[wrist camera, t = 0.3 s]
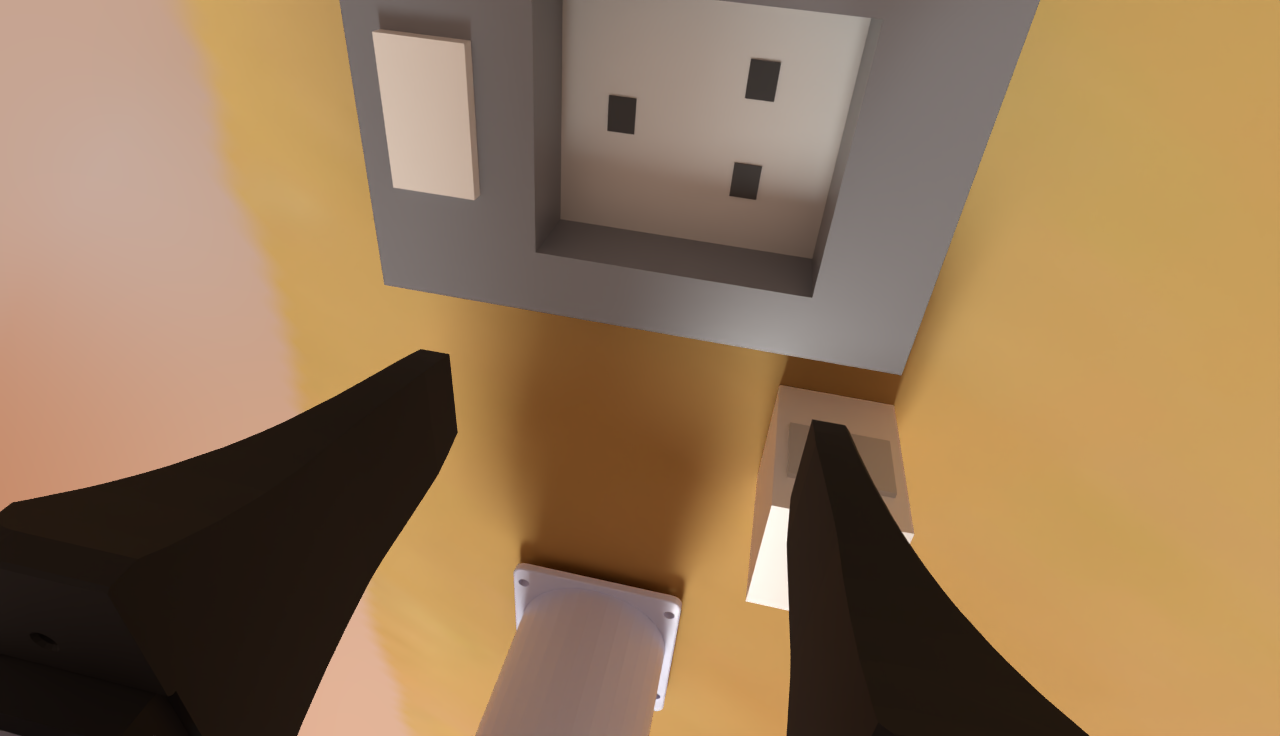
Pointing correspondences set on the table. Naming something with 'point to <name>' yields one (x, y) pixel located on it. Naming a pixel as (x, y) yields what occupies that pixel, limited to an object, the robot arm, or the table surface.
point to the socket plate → (683, 158)
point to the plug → (780, 466)
